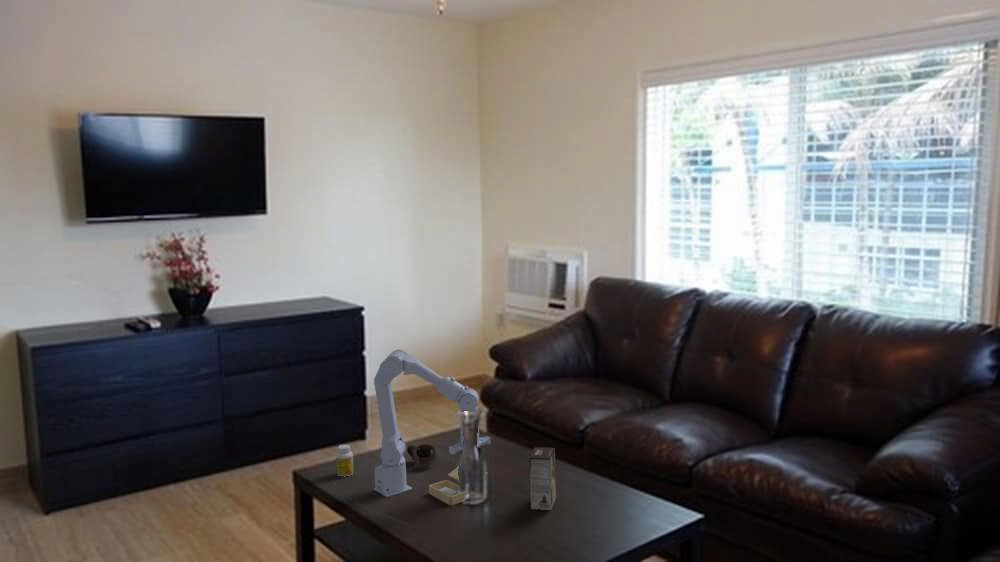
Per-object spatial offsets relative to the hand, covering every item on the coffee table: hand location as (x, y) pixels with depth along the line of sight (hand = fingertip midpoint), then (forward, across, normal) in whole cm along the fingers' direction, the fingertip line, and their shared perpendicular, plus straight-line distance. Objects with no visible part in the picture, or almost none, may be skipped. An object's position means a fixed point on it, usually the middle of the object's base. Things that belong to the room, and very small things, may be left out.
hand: (470, 470), depth 246 cm
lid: (+1, -1, 0) cm, 1 cm away
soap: (+6, -9, 0) cm, 11 cm away
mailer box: (+6, -8, 0) cm, 11 cm away
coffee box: (+7, +10, -22) cm, 26 cm away
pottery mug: (+7, +1, +30) cm, 30 cm away
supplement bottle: (+7, -24, +38) cm, 46 cm away
